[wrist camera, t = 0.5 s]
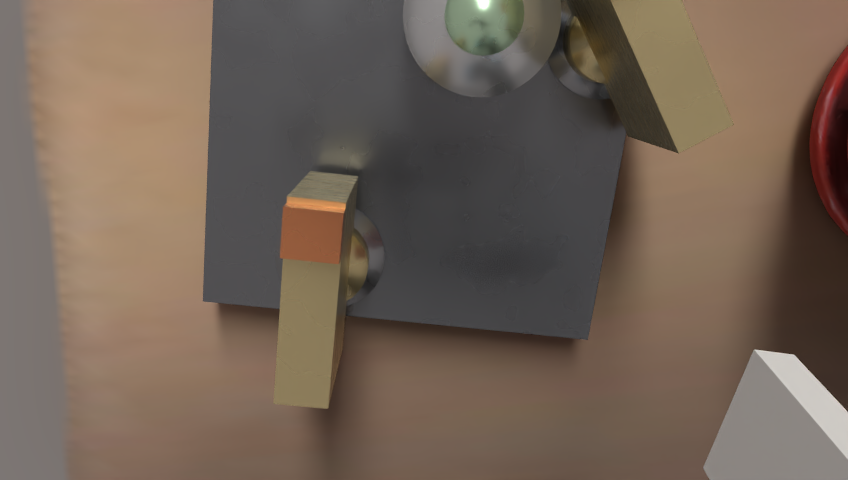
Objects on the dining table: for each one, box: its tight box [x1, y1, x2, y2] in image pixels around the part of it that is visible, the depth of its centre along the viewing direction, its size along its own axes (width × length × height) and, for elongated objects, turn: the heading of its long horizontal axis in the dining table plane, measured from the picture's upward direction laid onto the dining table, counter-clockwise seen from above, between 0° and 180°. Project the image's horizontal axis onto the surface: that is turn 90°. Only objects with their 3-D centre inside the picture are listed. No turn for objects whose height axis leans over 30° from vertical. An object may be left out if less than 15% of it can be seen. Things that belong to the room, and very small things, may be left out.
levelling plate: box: [203, 0, 626, 340], centre depth 24 cm, size 24×17×7 cm
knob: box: [274, 171, 369, 409], centre depth 24 cm, size 7×3×6 cm, turn 174°
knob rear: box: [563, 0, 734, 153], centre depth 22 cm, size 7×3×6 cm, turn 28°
